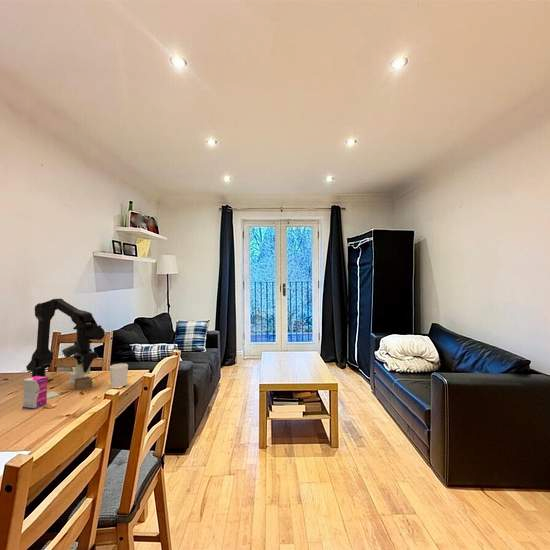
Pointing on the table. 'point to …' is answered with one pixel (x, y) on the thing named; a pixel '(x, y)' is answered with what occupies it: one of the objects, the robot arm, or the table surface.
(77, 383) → the walnut base
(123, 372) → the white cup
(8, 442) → the table surface
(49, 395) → the tile
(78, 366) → the sage block
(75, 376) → the grey block
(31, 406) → the supplement box
